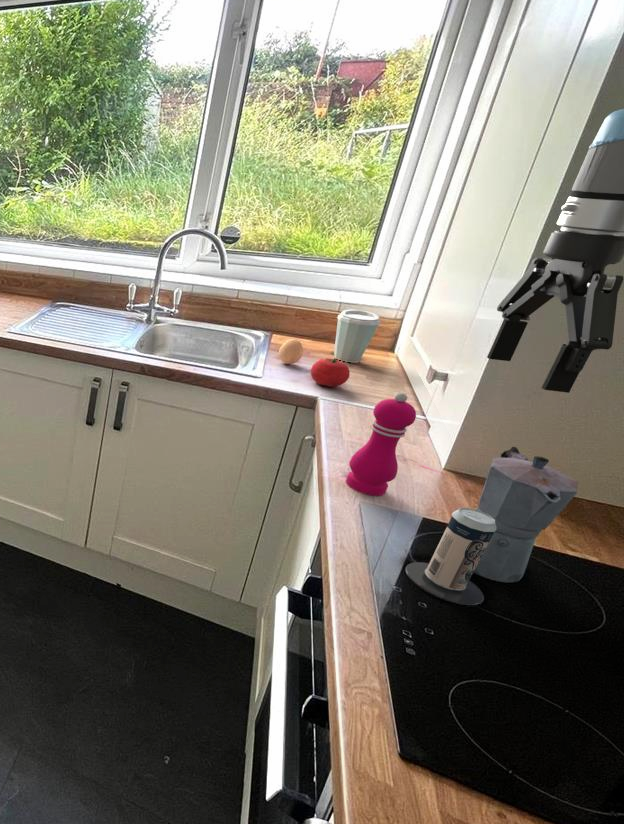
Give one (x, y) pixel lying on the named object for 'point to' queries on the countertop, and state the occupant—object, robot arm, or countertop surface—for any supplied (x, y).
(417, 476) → the countertop surface
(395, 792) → the countertop surface
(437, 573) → the beer can
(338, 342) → the disposable coffee cup
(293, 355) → the egg
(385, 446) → the pepper mill
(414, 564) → the slate coaster
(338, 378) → the tomato
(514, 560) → the moka pot
